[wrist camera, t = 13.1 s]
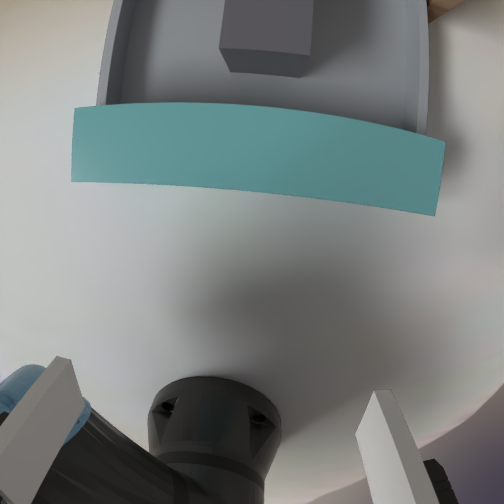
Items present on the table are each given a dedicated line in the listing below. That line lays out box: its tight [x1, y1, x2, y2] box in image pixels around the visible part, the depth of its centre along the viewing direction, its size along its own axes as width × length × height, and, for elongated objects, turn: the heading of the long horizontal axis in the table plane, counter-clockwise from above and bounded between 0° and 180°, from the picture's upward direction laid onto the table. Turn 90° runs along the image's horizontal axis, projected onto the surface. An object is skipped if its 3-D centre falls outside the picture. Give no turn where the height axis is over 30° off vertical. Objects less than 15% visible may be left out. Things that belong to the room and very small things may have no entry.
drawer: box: [71, 0, 446, 216], centre depth 17 cm, size 23×24×6 cm
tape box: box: [219, 0, 314, 78], centre depth 16 cm, size 7×5×6 cm
